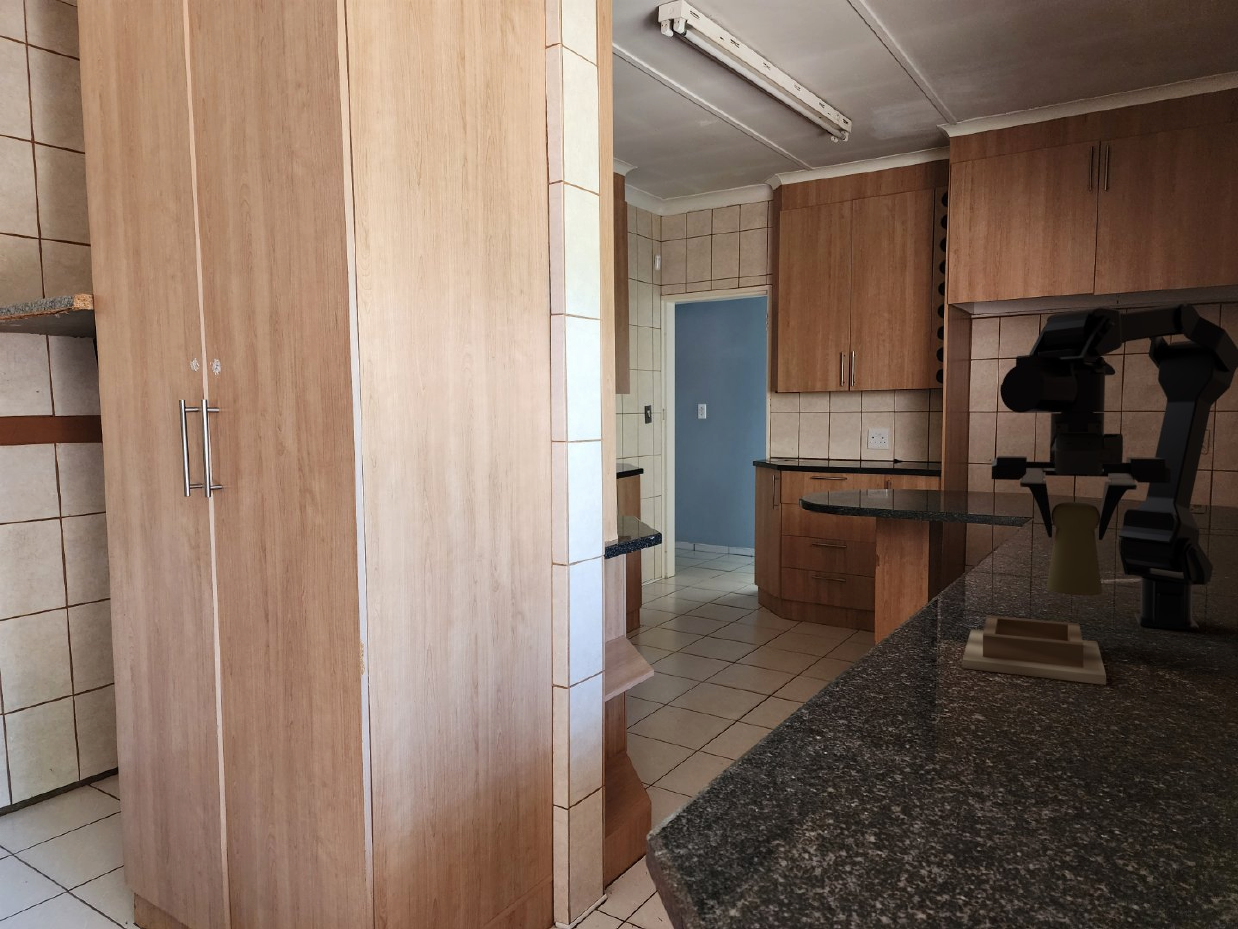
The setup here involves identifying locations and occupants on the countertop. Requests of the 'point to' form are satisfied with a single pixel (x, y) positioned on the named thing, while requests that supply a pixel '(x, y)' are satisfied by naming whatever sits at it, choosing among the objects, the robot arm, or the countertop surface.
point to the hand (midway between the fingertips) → (1074, 538)
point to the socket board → (1034, 650)
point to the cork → (1075, 550)
